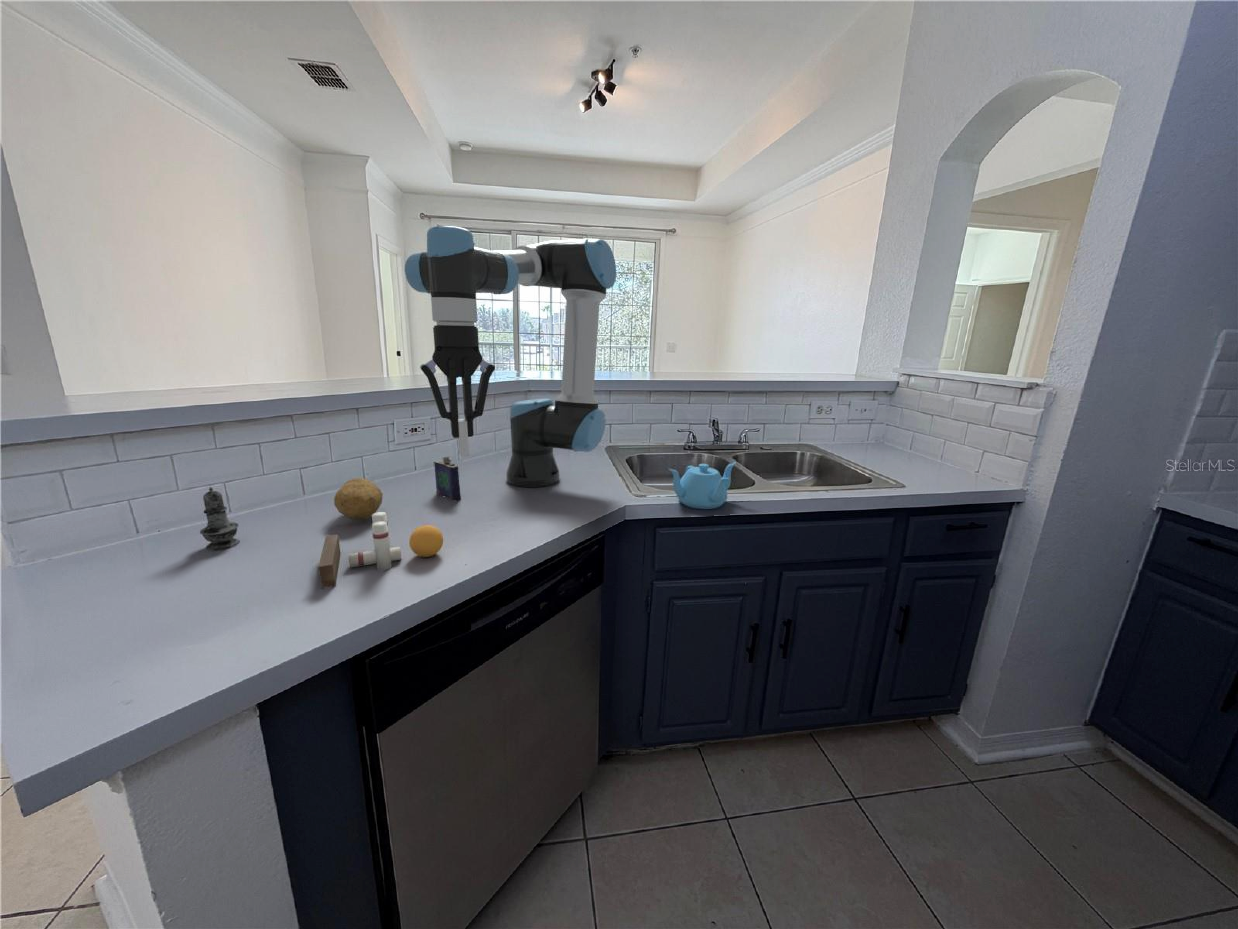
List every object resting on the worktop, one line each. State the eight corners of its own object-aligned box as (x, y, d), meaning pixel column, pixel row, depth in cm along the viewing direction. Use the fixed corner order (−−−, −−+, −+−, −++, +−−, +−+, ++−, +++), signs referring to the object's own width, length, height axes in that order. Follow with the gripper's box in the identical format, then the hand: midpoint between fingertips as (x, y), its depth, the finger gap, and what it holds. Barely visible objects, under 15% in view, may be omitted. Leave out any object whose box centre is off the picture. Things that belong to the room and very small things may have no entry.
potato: (335, 531, 102) (329, 496, 100) (338, 509, 114) (333, 477, 112) (385, 524, 106) (381, 490, 104) (383, 503, 118) (380, 472, 116)
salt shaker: (239, 536, 99) (227, 480, 96) (244, 545, 95) (232, 487, 92) (202, 544, 95) (188, 486, 92) (205, 554, 91) (191, 494, 88)
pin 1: (391, 551, 94) (386, 511, 92) (391, 557, 92) (386, 515, 89) (376, 554, 93) (371, 513, 90) (376, 559, 91) (371, 517, 88)
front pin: (399, 544, 92) (348, 551, 88) (400, 550, 89) (348, 558, 86) (400, 555, 92) (350, 563, 89) (401, 562, 90) (350, 570, 87)
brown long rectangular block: (340, 553, 93) (337, 534, 91) (335, 586, 81) (332, 564, 80) (328, 555, 92) (325, 536, 91) (321, 588, 81) (318, 566, 79)
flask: (434, 493, 127) (431, 454, 124) (444, 491, 129) (441, 452, 126) (454, 502, 121) (451, 461, 118) (464, 499, 123) (462, 458, 120)
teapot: (681, 490, 135) (684, 454, 132) (736, 498, 129) (739, 461, 127) (666, 507, 122) (668, 468, 119) (725, 516, 116) (729, 476, 113)
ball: (404, 525, 92) (412, 552, 95) (407, 538, 87) (415, 566, 90) (436, 516, 95) (443, 543, 97) (441, 528, 90) (448, 556, 92)
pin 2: (391, 563, 90) (387, 520, 87) (392, 569, 87) (387, 525, 85) (376, 565, 89) (371, 522, 86) (376, 571, 86) (371, 527, 84)
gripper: (488, 325, 91) (494, 446, 97) (414, 323, 85) (425, 452, 92) (497, 325, 84) (502, 455, 91) (417, 323, 79) (428, 462, 85)
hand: (463, 453), depth 91 cm, fingers closed
